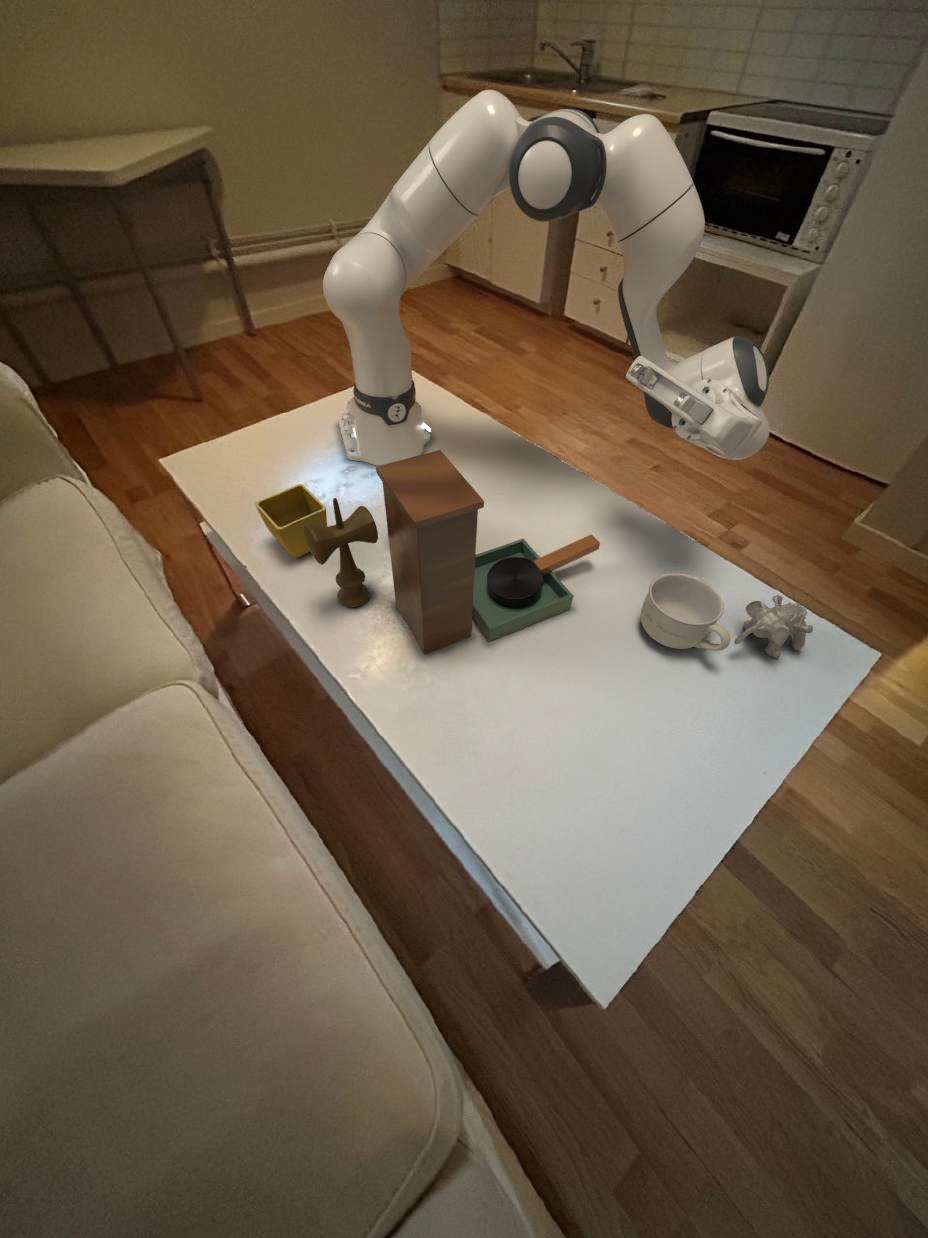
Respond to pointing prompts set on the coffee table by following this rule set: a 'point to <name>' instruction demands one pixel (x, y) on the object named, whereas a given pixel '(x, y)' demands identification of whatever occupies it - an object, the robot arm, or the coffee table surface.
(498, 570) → the skillet
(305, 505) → the flower pot
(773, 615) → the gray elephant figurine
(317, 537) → the kendama
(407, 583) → the stand
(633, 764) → the coffee table surface
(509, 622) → the tray
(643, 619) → the teacup
